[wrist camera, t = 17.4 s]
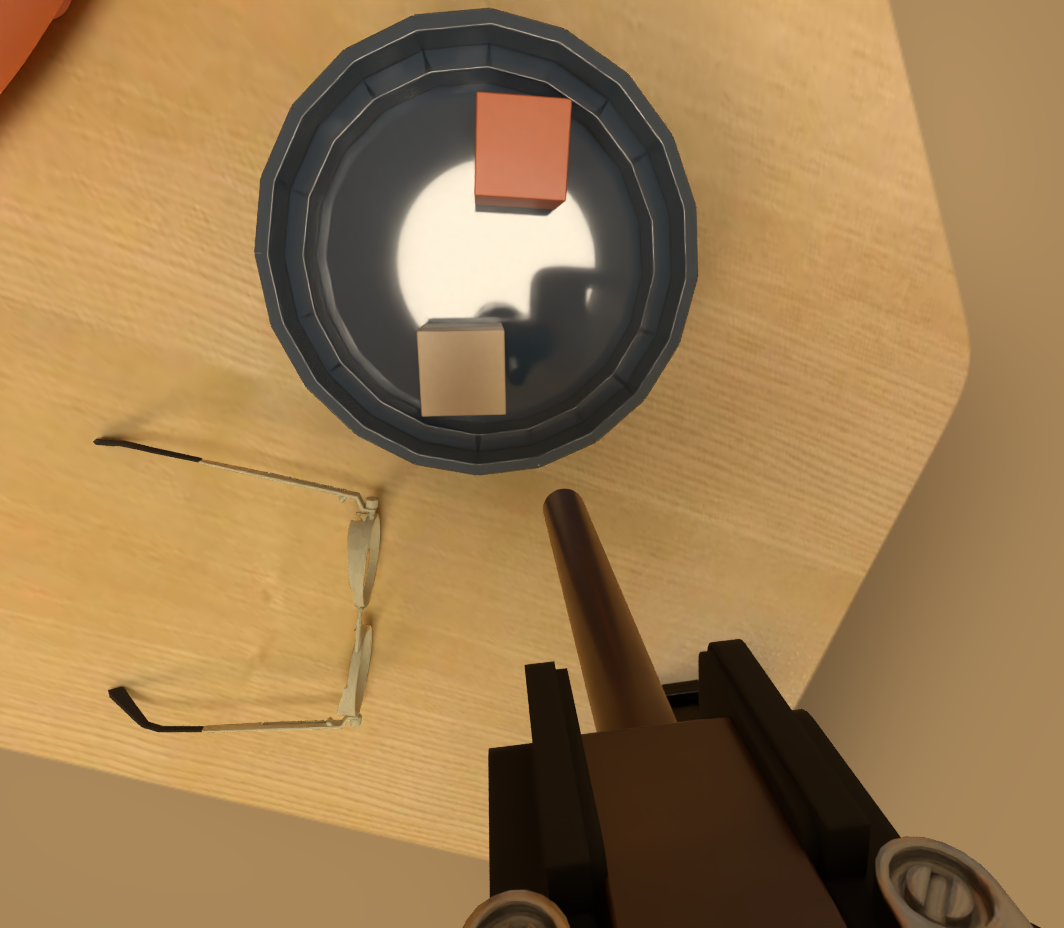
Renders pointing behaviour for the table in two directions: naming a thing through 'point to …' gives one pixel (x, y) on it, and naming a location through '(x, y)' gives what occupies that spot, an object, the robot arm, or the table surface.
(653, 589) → the table surface
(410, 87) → the bowl
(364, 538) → the eyeglasses
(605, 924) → the robot arm
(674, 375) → the table surface
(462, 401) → the cube
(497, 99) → the cube
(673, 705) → the holder
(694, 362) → the table surface
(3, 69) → the teapot
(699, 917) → the stick
